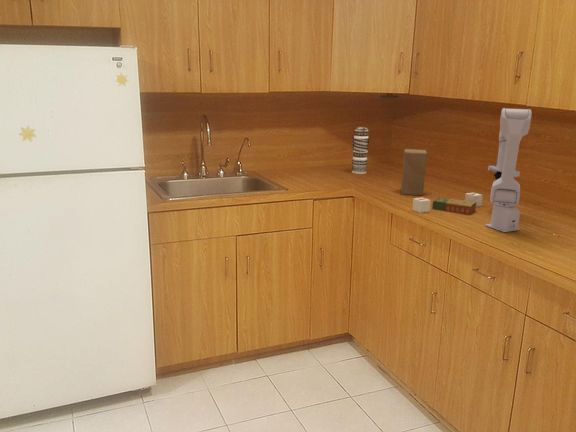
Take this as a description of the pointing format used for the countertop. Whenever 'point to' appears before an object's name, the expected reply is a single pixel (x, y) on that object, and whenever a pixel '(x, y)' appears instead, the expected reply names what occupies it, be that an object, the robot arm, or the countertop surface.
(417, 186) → the wooden block
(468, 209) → the carton
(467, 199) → the number block 7
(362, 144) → the decorative candle
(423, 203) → the number block 1
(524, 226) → the countertop surface
